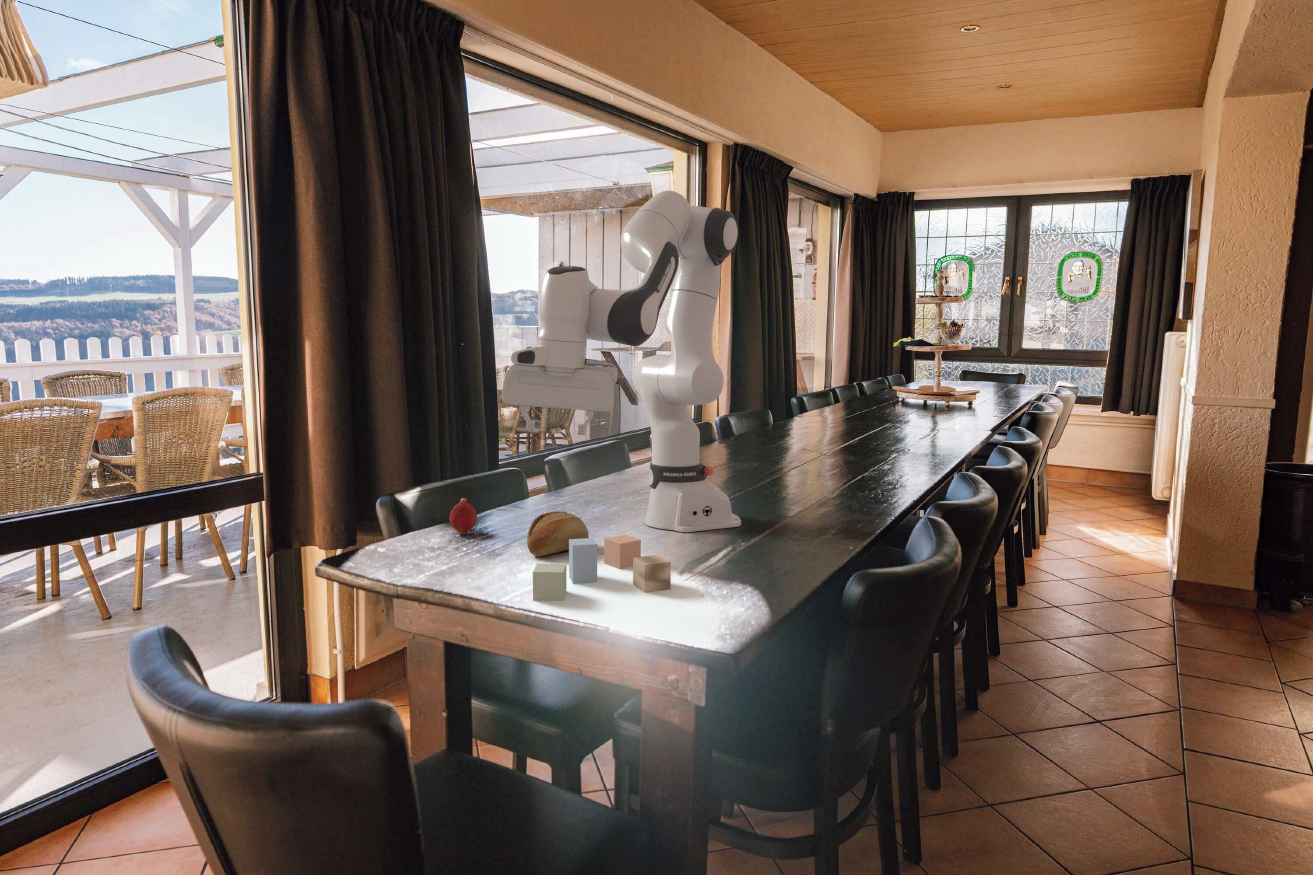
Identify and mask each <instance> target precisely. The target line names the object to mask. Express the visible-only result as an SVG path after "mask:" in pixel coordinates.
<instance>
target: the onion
mask: <svg viewBox="0 0 1313 875" xmlns="http://www.w3.org/2000/svg"><path fill="white" fill-rule="evenodd" d="M475 509H476V508H475V507H474V506H473V505H471V504H470V503H468V502H467V498H465V497H464V498H463V497H462V498H461V499H460V500H459V502H458V503H457V504H456V505H455V506H453V508H452V509H451V511H450V513H449V518H448V520H449V523H450V525H451V527H452V528H453V529H454V530H455V531H456V532H458V533H460V534H461V533H466V534H468V532H469V531H471V530H472V529H473V528H474V526H475V525H476V524H477V518H478V515H477V511H476V510H475Z"/></svg>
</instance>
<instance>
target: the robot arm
mask: <svg viewBox="0 0 1313 875" xmlns="http://www.w3.org/2000/svg"><path fill="white" fill-rule="evenodd" d="M738 225H739V224H738V221H737V219H736V216H735V215H734V214H733V213H732V212H731V211H729V210H726V209H724V208H720V207H714V208H712V207H704V206H699V205H698V206H697V205H690V203H689V201H688V199H687V198H685V196H683V195H682V194H680V193H679V192H677V191H674V190H663V191H660V192H658V193H657V194H655V195H654V196H652V197H651V198H649V200H647V201H646V202H645V203H643V205H642V206H640V207H639V209H638V210H637V211H636V213H634V215H632V217H631V218H630V220H629V221H628V222H627V223H626V225H625V226H624V228H623V230H622V233H621V234H620V246H621V250H622V251H621V252H622V254H623V255H624V258H625V259H626V261H627V262H628V263H629V264H630V266H632V267H633V268H634V269H635V270H637V271H639V272H641V273H643V274H644V275H643V276H642V279H641V281H640V283H639V285H638V286H636V287H633V288H629V289H622V290H621V289H606V288H605V289H604V288H599V286H597V285H595V284H594V283H593V282H592V281H591V280H590V279H589V271H588V269H587V268H585V267H582V266H576V265H575V266H574V265H568V266H564V265H561V266H554V267H552V268H551V267H550V268H549V269H548V270H546V272H545V274H544V276H543V281H542V285H541V291H540V298H539V299H540V300H539V311H538V314H539V320H540V327H539V331H538V334H537V344H536V345H535V346H528V347H526V348H523V349H519V350H515V351H513V352H512V353H511V355H510V361H511V363H512V365H510V366H509V367H508V368H507V369H506V372H505V374H504V379H503V383H502V388H501V389H502V390H501V400H502V402H504V404H505V405H514V406H520V413H521V415H522V417H523V419H524V421H525V431H526V432H535V430H536V427H535V424H536V420H532V419H531V417H530V415H529V414H528V412H529V411H530V410H531V409H530V408H531V407H536V408H537V407H540V408H552V409H566V410H577V411H578V410H579V411H585V417H587V418H586V420H585V421H584V422H583V424H582V423H579V424H578V426H577V429H578V431H577V436H578V435H579V436H586V435H587V431H588V430H587V427H588V425H589V424H590V422H591V421H592V419H593V418H594V415H595V414H594V412H605V413H609V412H611V411H612V410H613V409H614V402H615V400H614V399H615V398H614V397H615V396H614V392H615V391H614V385H616V384H617V382H618V378H619V377H618V376H619V375H618V374H619V371H618V367H617V366H616V365H615V364H614V363H612V362H611V361H609V360H599V359H591V358H586V357H587V341H588V340H589V341H590V340H591V341H599V342H606V343H607V342H609V343H616V344H621V345H624V346H625V345H626V346H630V347H639V346H641V345H643V344H644V343H645V342H647V341H648V340H649V339H650V338H651V336H652V335H653V334H654V332H655V330H656V327H657V326H658V325H657V324H658V320H659V316H660V311H661V309H662V306H663V304H664V303H665V300H666V298H667V295H668V293H669V296H668V301H667V306H666V310H665V315H664V320H663V325H664V329H665V331H666V332H667V333H668V334H669V337H670V339H671V340H670V341H671V354H654V355H651V356H646V357H643V358H642V359H640V361H638V362H637V363H636V365H635V366H634V368H633V371H632V384H633V387H634V389H635V390H636V392H637V393H638V395H639V396H640V397H641V399H642V401H643V404H644V407H645V410H646V412H647V416H648V419H649V420H648V421H649V425H650V431H651V432H650V434H651V462H650V463H649V470H648V483H649V487H650V491H649V497H648V498H649V500H648V504H647V505H648V506H647V509H646V510H647V511H646V515H645V518H644V521H643V523H644V524H645V525H646V526H649V527H651V528H655V529H660V530H661V529H662V530H670V531H675V532H680V533H690V532H691V533H693V532H699V531H711V530H717V529H718V530H719V529H729V528H735V527H736V528H737V527H741V525H742V520H741V518H740V517H739V516H738V515H737V514H734V513H733V511H732V505H731V501H730V498H729V496H728V495H727V494H726V493H725V492H723V491H722V490H721V489H720V488H718V486H716V485H715V484H714V483H712V482H711V481H710V480H709V479H707V477H711V476H713V474H714V472H715V470H714V468H713V467H711V466H709V465H708V466H707V465H704V464H703V463H701V462H700V453H701V452H700V448H701V446H700V445H701V440H700V439H701V434H700V429H699V427H698V425H697V424H696V423H695V422H694V421H693V419H692V417H691V415H690V413H689V410H688V406H702V405H706V404H711V403H712V402H714V401H716V400H717V399H718V398H719V396H720V395H721V394H722V391H723V388H724V384H725V381H724V380H725V379H724V378H725V377H724V373H723V371H722V368H721V367H720V365H719V364H718V363H717V360H716V359H715V356H714V351H713V341H712V340H713V339H712V335H713V327H714V321H715V315H716V309H717V305H718V299H719V295H720V287H721V274H722V272H721V271H722V267H721V264H723V263H724V262H725V259H727V258H728V257H729V256H730V255H731V254H732V252H733V250H734V249H735V247H736V245H737V242H738V238H739V226H738Z"/></svg>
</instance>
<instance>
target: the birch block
mask: <svg viewBox="0 0 1313 875" xmlns="http://www.w3.org/2000/svg"><path fill="white" fill-rule="evenodd" d="M671 562H672V561H670V560H669V559H667V558H665V557H663V556H662V555H660V554H653V555H645V556H641V557H634V558H633V567H632V585H633V586H634V587H635V588H636V589H638V590H640V591H641V592H643V593H644V594H645V593H653V592H654V593H655V592H659V591H661V592H662V591H667V590H668V591H669V590H671V589H672V588H671V585H672V584H671V582H672V579H671V578H672V572H671V571H672V569H671V568H672V565H671V564H672V563H671Z"/></svg>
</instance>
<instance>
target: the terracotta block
mask: <svg viewBox="0 0 1313 875" xmlns="http://www.w3.org/2000/svg"><path fill="white" fill-rule="evenodd" d="M603 542H604V543H603V544H604V546H603V548H604V549H603V550H604V552H603V553H604V554H603V562H604V564H605V565H607V566H609V567H613V568H615V569H618V570H623V569H628V568H631V567H632V568H633V558H634V557H642V556H641V555H642V553H641V552H642V551H641V549H642V545H641V544H642V540H641V539H639V538H636V537H635V536H630V535H627V534H621V535H615V536H611V537H605V538H604V540H603Z"/></svg>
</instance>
